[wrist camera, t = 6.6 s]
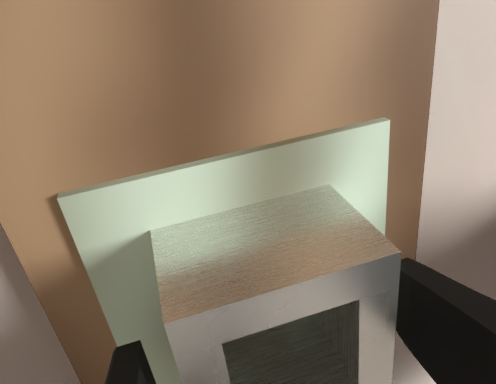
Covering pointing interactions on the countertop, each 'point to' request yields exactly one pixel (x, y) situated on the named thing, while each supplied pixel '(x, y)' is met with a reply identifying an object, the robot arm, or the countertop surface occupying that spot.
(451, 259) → the countertop surface
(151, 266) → the board
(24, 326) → the countertop surface
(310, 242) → the white square frame
